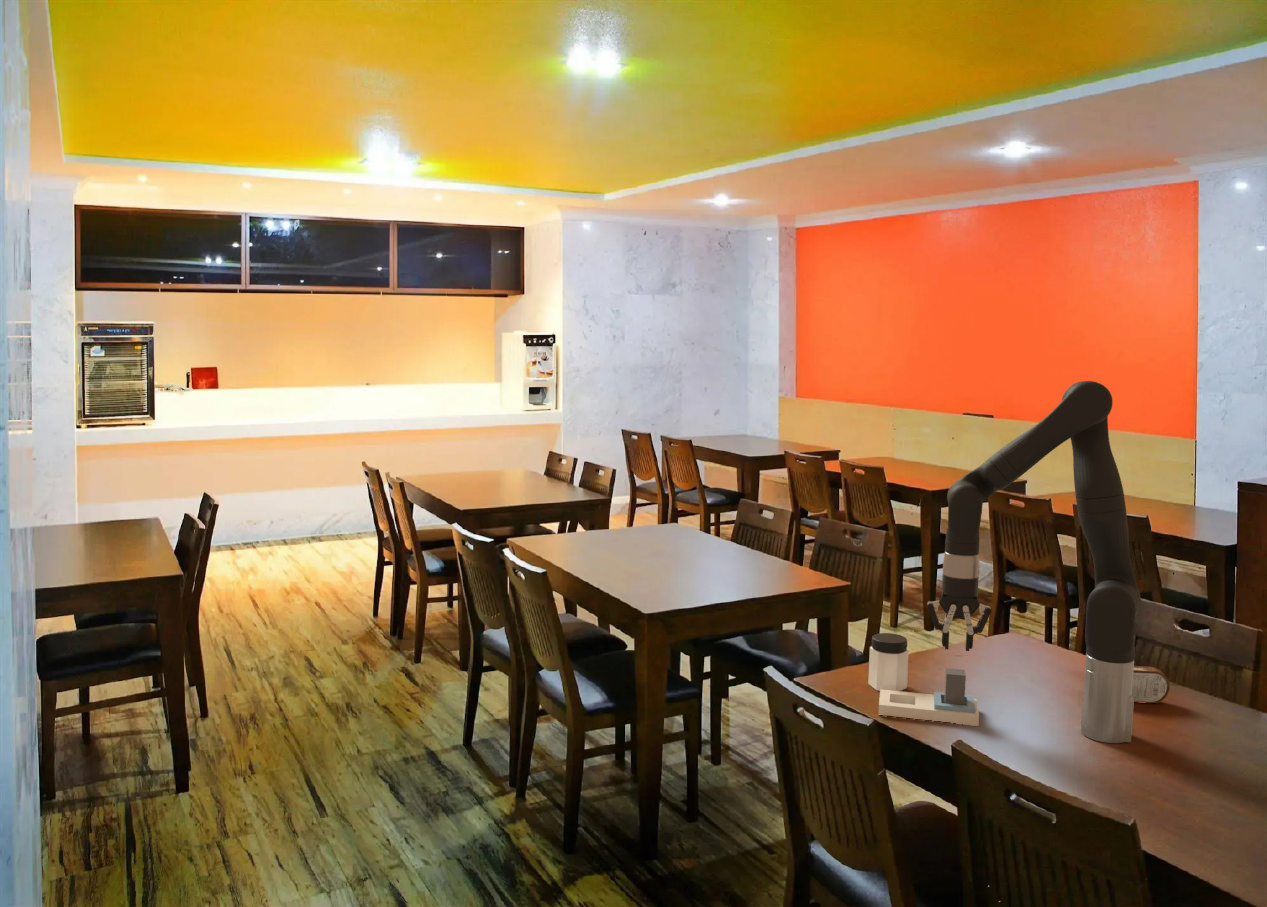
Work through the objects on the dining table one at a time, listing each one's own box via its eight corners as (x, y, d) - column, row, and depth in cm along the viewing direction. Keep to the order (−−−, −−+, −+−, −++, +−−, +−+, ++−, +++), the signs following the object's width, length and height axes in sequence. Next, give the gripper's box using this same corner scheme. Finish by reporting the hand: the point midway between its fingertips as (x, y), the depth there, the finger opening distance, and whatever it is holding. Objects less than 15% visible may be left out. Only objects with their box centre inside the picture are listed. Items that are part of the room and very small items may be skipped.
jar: (912, 691, 241) (914, 642, 239) (880, 694, 239) (882, 644, 238) (894, 678, 250) (896, 631, 248) (863, 681, 248) (865, 633, 246)
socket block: (975, 709, 230) (976, 694, 230) (978, 726, 221) (979, 710, 220) (879, 699, 236) (880, 685, 235) (878, 715, 226) (879, 700, 226)
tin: (1164, 701, 237) (1167, 666, 236) (1170, 706, 234) (1173, 670, 233) (1097, 698, 238) (1099, 663, 237) (1101, 703, 235) (1104, 667, 234)
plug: (962, 712, 228) (964, 669, 227) (963, 719, 224) (965, 675, 223) (943, 711, 229) (945, 668, 228) (944, 717, 225) (946, 673, 224)
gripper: (993, 571, 224) (989, 647, 227) (926, 566, 228) (923, 641, 230) (996, 579, 217) (992, 657, 219) (927, 574, 221) (923, 651, 223)
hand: (956, 648), depth 225 cm, fingers open, 3 cm apart
